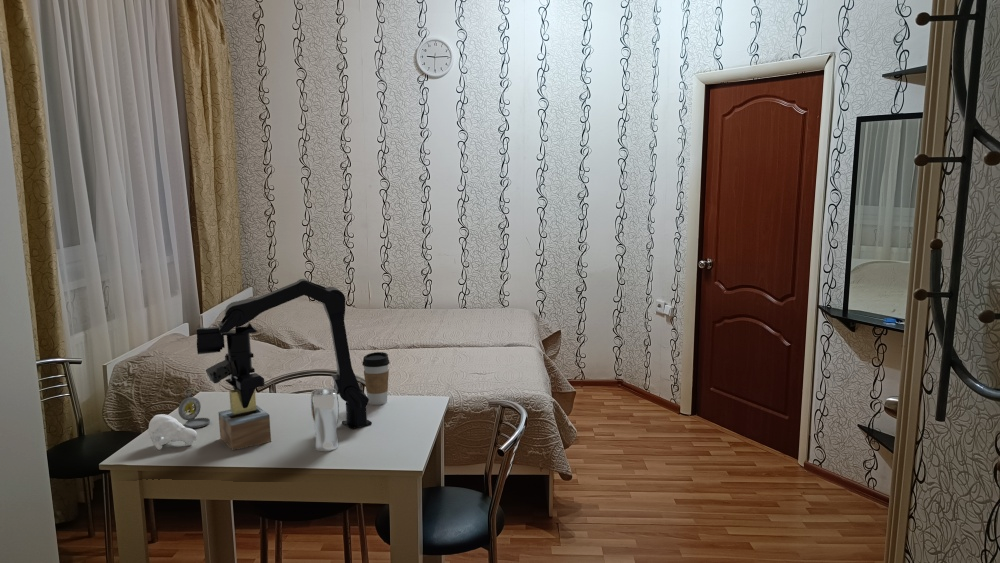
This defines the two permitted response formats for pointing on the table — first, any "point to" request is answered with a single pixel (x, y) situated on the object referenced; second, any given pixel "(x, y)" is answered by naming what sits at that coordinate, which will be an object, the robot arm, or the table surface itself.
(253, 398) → the block
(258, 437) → the box
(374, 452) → the table surface
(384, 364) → the coffee cup
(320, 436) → the beer glass
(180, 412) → the pocket watch
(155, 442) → the white animal skull
